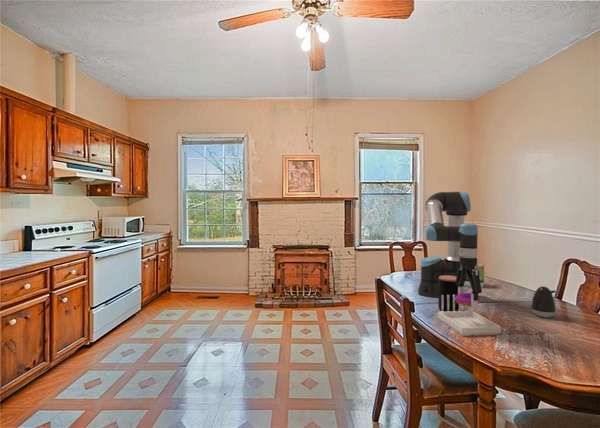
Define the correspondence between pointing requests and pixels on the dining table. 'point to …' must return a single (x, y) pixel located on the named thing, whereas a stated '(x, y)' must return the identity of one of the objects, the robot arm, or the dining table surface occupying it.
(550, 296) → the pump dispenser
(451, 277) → the coffee jar
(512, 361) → the dining table surface
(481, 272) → the tea box
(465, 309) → the rack tines
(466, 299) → the donut
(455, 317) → the tray
